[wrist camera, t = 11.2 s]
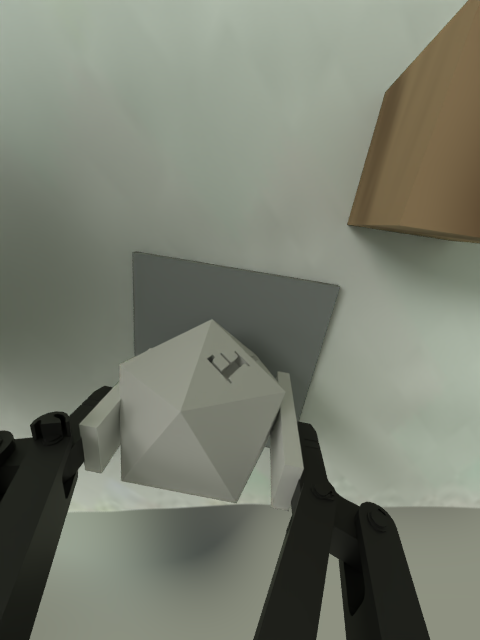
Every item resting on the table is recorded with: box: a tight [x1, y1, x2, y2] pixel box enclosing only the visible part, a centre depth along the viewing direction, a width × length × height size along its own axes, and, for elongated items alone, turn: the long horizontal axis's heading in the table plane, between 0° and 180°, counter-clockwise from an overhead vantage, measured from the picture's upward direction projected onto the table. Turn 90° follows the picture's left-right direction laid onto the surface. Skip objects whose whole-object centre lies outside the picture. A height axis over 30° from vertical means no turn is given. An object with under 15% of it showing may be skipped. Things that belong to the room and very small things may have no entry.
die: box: [119, 319, 286, 503], centre depth 13 cm, size 8×9×10 cm
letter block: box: [347, 0, 480, 243], centre depth 10 cm, size 6×6×6 cm
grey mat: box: [133, 252, 340, 448], centre depth 18 cm, size 13×14×1 cm
